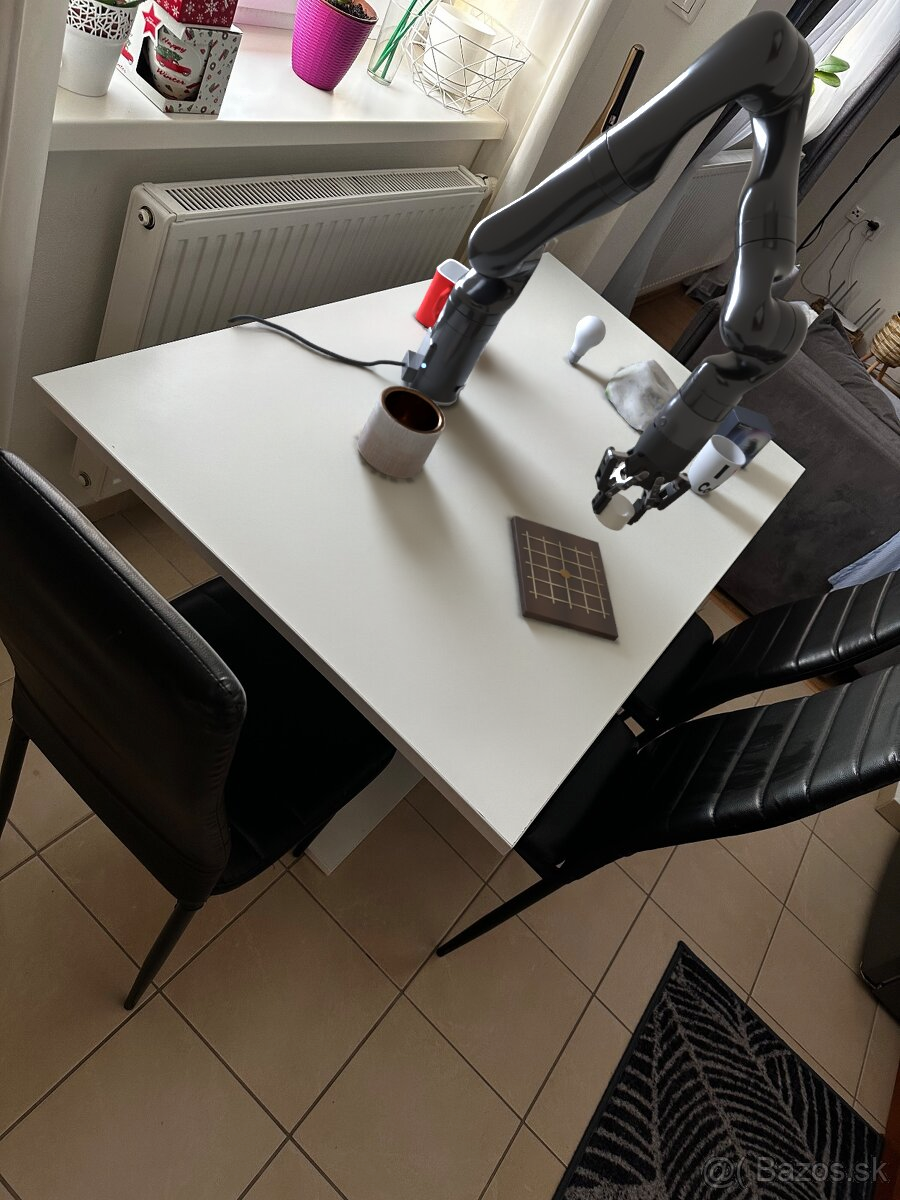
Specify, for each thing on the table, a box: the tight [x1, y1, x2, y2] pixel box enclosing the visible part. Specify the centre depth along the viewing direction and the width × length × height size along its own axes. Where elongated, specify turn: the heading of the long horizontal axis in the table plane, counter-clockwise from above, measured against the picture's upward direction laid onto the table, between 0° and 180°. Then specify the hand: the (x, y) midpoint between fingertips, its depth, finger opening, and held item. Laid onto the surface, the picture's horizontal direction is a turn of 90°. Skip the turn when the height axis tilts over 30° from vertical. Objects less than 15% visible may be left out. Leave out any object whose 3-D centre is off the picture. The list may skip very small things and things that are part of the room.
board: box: [510, 515, 619, 642], centre depth 133 cm, size 16×20×1 cm
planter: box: [357, 385, 446, 479], centre depth 131 cm, size 11×11×10 cm
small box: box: [714, 404, 777, 470], centre depth 181 cm, size 11×6×10 cm, turn 99°
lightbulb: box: [566, 315, 607, 364], centre depth 177 cm, size 6×6×11 cm
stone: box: [604, 358, 679, 432], centre depth 183 cm, size 28×7×15 cm
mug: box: [415, 258, 470, 329], centre depth 162 cm, size 12×8×11 cm
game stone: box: [594, 492, 635, 532], centre depth 125 cm, size 5×5×3 cm
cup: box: [687, 435, 746, 496], centre depth 168 cm, size 8×8×10 cm
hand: (611, 515), depth 125 cm, fingers closed on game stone, 5 cm apart
